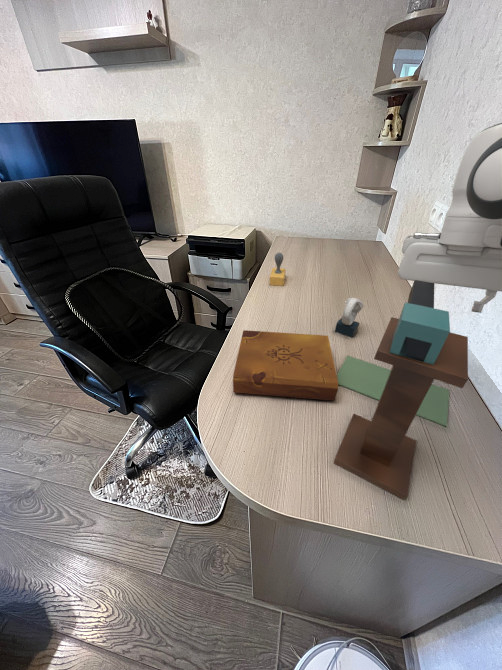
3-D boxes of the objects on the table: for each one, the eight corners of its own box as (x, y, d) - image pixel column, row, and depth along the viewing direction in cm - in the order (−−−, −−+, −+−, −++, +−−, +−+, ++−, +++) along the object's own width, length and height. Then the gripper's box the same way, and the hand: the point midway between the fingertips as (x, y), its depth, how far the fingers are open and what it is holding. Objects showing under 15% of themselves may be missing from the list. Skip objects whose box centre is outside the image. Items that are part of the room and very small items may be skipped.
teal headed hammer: (434, 300, 47) (446, 272, 44) (433, 365, 34) (450, 331, 31) (402, 294, 49) (412, 267, 46) (389, 352, 36) (401, 319, 33)
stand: (414, 445, 54) (476, 335, 39) (404, 500, 45) (479, 388, 31) (352, 417, 59) (385, 312, 44) (333, 463, 51) (367, 351, 36)
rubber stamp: (283, 286, 113) (285, 257, 106) (269, 285, 114) (270, 256, 107) (285, 276, 121) (287, 249, 114) (271, 275, 122) (273, 248, 115)
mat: (448, 391, 65) (449, 389, 65) (446, 427, 57) (446, 426, 57) (347, 356, 76) (347, 355, 76) (332, 382, 68) (332, 381, 67)
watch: (359, 328, 87) (367, 297, 81) (350, 340, 82) (358, 308, 76) (342, 322, 90) (349, 292, 84) (332, 334, 85) (338, 302, 78)
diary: (233, 395, 64) (232, 377, 61) (243, 346, 80) (243, 330, 76) (334, 403, 62) (339, 384, 59) (324, 351, 78) (328, 334, 74)
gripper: (403, 232, 53) (388, 301, 59) (550, 238, 43) (514, 322, 48) (408, 230, 58) (394, 294, 64) (541, 235, 47) (510, 312, 53)
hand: (447, 307), depth 56 cm, fingers open, 8 cm apart
